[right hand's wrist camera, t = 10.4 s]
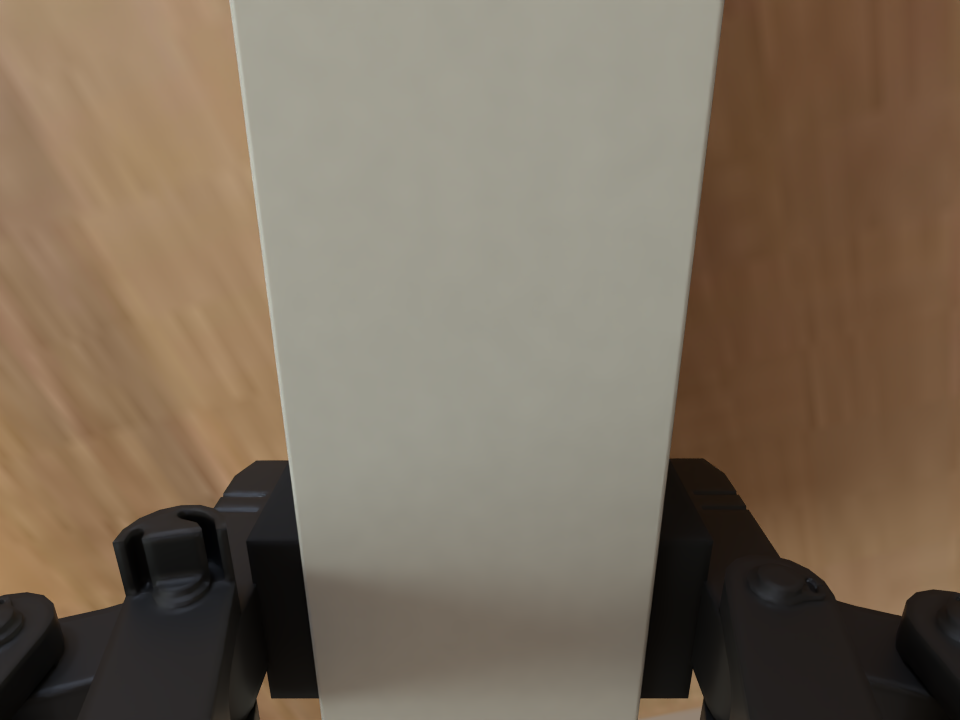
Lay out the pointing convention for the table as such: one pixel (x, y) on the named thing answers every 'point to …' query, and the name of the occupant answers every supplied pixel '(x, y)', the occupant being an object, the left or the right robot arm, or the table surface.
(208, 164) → the table surface
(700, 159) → the beam
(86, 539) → the table surface
